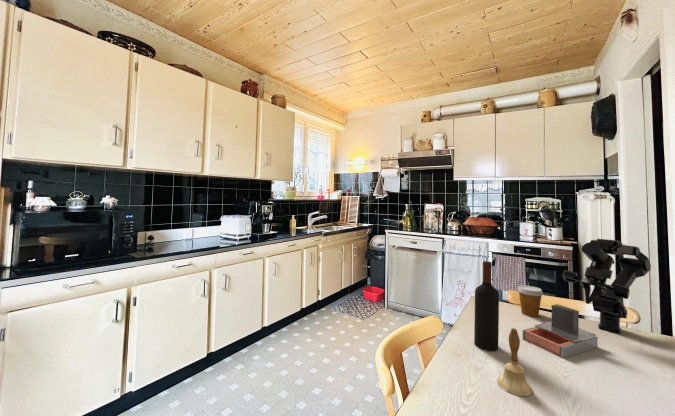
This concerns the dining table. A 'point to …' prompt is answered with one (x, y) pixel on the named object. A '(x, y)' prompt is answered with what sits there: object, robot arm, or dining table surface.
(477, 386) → the dining table surface
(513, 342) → the hand bell
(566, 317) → the lid
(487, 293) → the wine bottle
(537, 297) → the disposable coffee cup
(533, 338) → the grey box tray
